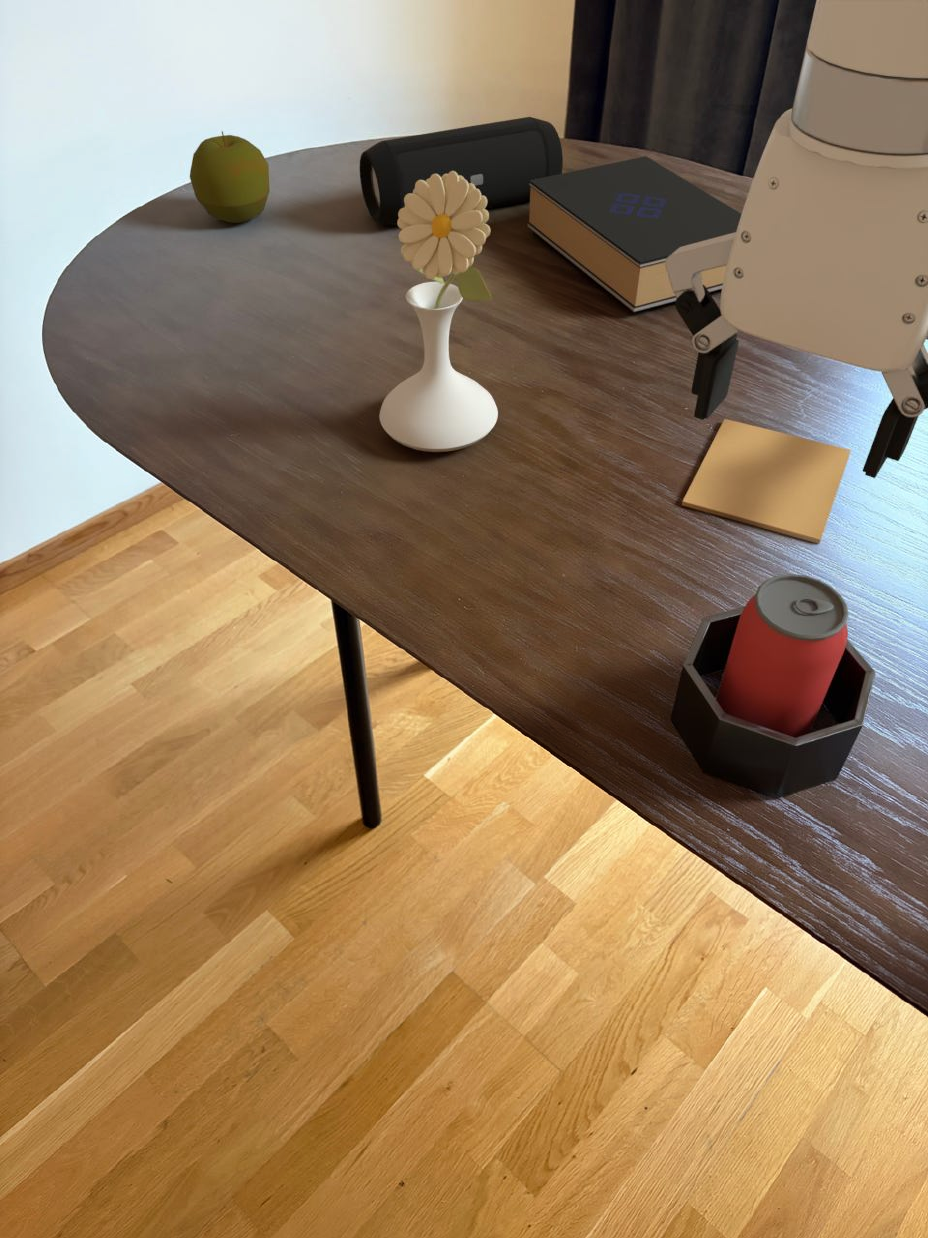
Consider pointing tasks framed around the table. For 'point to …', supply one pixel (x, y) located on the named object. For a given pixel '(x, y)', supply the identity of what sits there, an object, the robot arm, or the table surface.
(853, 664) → the black octagonal pot
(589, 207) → the book
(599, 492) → the table surface
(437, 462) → the table surface
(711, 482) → the cork mat
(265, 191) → the apple
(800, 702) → the beer can
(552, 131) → the portable speaker
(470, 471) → the table surface
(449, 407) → the flower in vase
